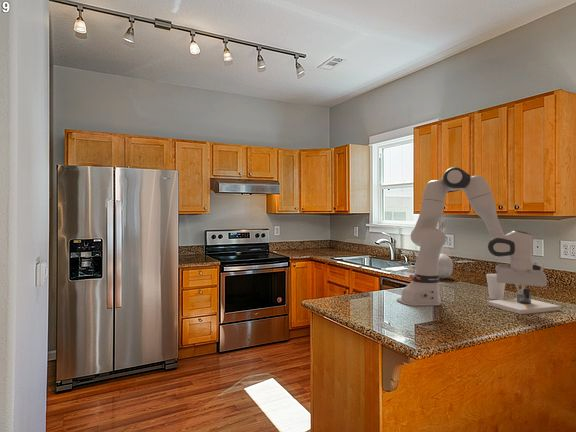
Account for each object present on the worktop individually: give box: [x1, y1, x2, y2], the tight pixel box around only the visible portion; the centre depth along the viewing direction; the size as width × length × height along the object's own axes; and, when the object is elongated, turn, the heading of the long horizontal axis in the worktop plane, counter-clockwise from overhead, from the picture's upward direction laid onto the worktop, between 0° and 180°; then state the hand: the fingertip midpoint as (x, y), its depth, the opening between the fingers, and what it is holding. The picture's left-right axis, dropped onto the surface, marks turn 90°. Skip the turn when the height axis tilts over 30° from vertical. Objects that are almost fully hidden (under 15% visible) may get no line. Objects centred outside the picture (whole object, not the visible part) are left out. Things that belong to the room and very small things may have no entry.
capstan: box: [516, 287, 532, 304], centre depth 177 cm, size 16×6×9 cm, turn 152°
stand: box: [486, 298, 561, 315], centre depth 180 cm, size 26×18×2 cm
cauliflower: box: [414, 253, 454, 280], centre depth 265 cm, size 20×25×22 cm
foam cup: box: [486, 273, 507, 301], centre depth 198 cm, size 10×9×13 cm
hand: (520, 294), depth 172 cm, fingers closed
